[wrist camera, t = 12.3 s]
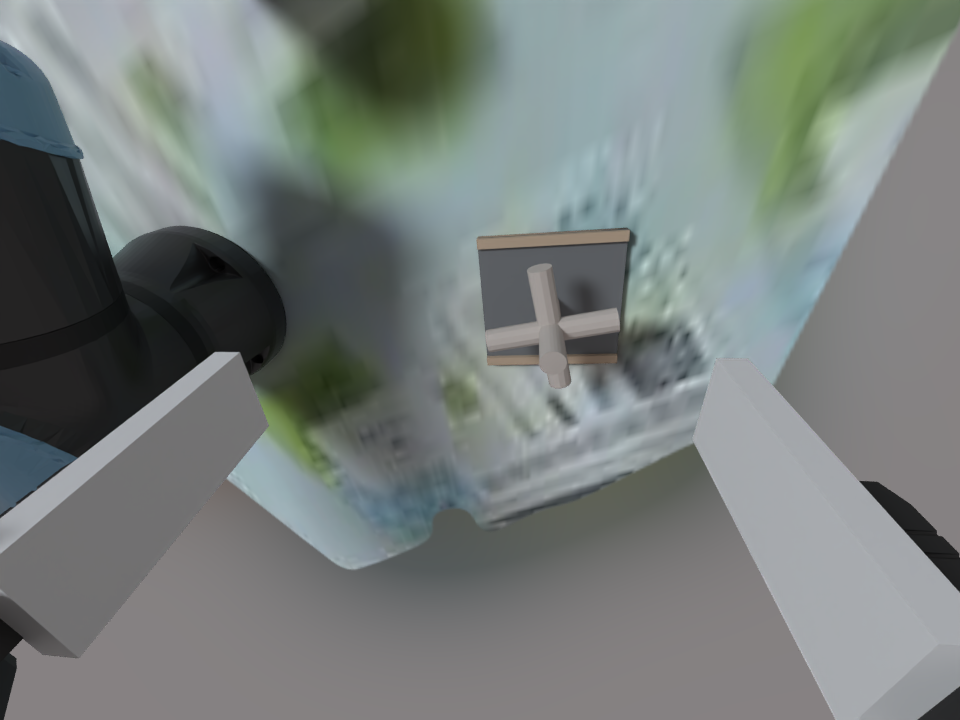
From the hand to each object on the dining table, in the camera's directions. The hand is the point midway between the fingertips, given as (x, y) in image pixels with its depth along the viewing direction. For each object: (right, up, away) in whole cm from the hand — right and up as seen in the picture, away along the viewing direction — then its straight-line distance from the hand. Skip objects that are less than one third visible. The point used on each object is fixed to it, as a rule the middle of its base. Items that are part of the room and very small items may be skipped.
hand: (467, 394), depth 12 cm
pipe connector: (+6, +6, +24) cm, 26 cm away
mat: (+7, +6, +25) cm, 26 cm away
